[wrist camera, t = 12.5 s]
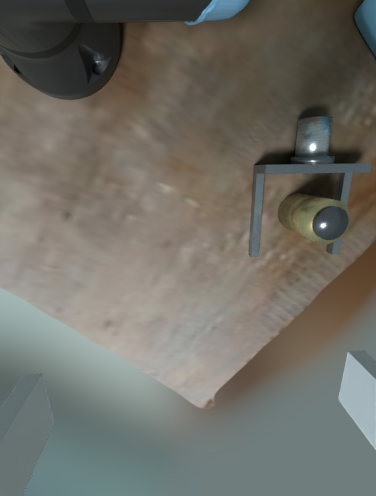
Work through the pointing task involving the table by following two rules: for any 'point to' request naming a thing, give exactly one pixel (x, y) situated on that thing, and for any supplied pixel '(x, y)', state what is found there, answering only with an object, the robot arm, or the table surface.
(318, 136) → the flange cradle
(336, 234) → the yellow jar
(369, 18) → the light blue boxy pot
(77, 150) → the table surface
